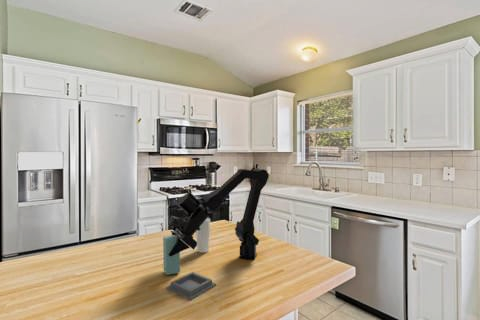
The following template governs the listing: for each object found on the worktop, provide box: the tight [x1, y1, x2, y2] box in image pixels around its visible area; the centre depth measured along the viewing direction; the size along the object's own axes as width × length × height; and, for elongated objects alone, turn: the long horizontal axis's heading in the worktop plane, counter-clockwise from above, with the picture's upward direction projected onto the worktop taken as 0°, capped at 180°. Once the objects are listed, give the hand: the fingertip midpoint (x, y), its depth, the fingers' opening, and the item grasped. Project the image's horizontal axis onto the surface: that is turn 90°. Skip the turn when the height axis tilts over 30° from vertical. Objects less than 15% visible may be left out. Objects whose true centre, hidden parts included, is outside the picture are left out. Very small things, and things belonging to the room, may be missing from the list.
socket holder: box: [165, 271, 217, 301], centre depth 92 cm, size 12×12×2 cm
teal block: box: [162, 234, 181, 276], centre depth 103 cm, size 5×5×13 cm
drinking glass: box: [195, 217, 211, 254], centre depth 125 cm, size 7×7×15 cm
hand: (167, 253), depth 102 cm, fingers closed on teal block, 5 cm apart
